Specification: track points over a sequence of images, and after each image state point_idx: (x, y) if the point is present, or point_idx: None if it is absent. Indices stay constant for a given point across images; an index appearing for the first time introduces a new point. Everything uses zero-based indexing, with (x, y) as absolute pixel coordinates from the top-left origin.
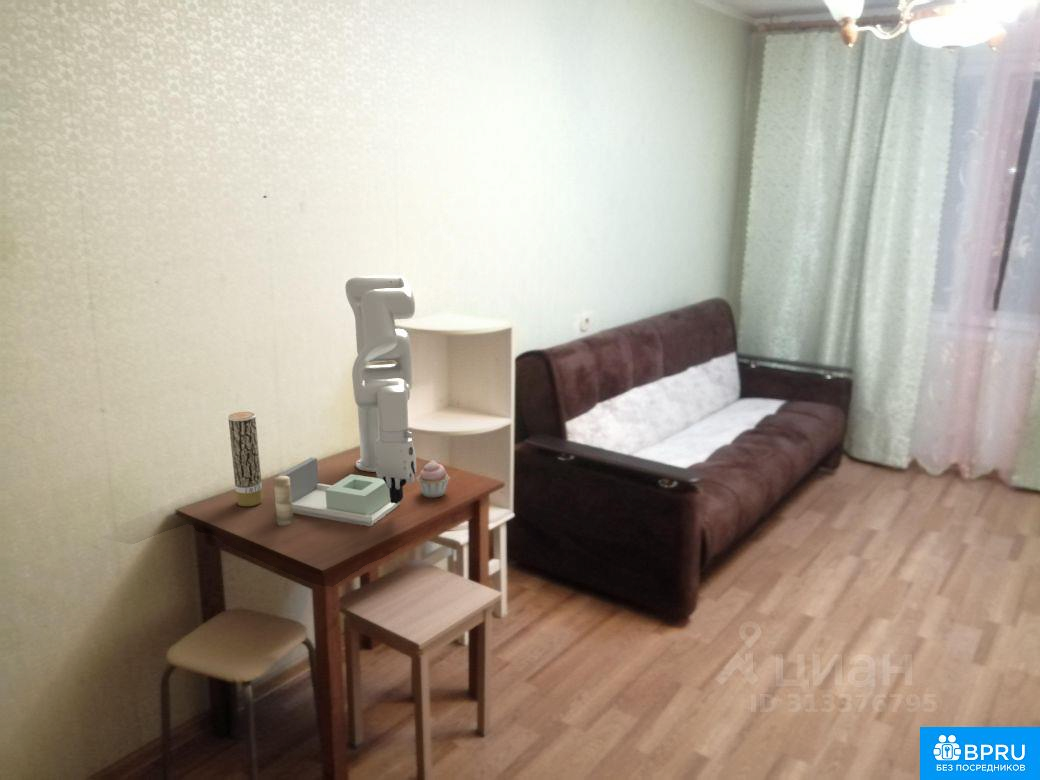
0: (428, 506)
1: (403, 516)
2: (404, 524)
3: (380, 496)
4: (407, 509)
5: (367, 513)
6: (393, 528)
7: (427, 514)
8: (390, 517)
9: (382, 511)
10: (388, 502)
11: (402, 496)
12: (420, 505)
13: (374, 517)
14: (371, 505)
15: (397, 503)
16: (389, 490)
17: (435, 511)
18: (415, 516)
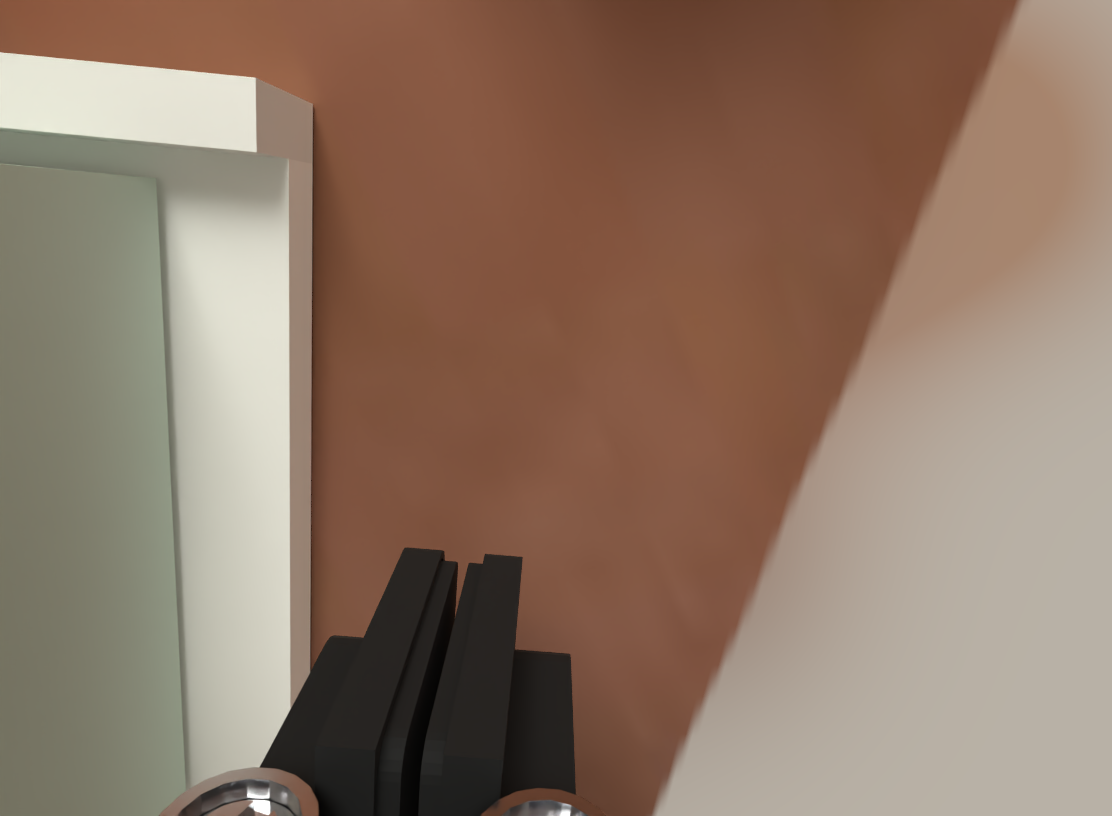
0: (772, 28)
1: (550, 464)
2: (657, 662)
3: (53, 533)
4: (504, 233)
5: (160, 808)
6: (577, 777)
7: (845, 318)
8: (403, 534)
9: (259, 543)
10: (159, 220)
11: (569, 677)
12: (635, 26)
13: (265, 728)
14: (108, 771)
15: (295, 162)
16: (24, 175)
17: (931, 185)
18: (705, 422)
